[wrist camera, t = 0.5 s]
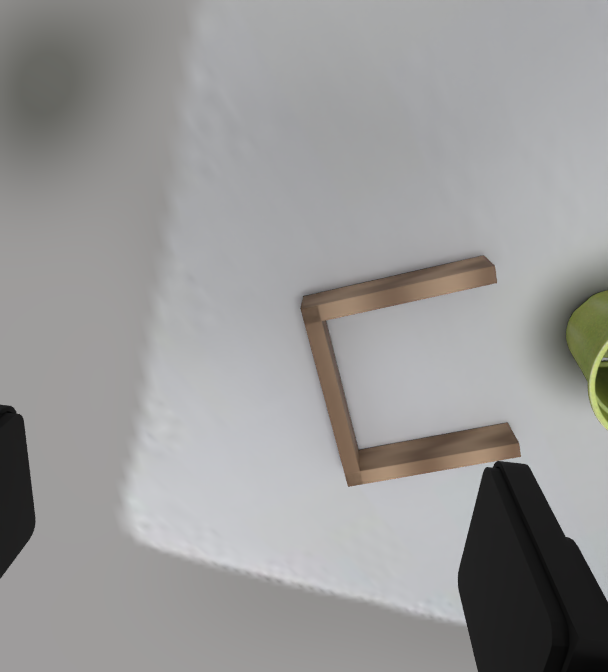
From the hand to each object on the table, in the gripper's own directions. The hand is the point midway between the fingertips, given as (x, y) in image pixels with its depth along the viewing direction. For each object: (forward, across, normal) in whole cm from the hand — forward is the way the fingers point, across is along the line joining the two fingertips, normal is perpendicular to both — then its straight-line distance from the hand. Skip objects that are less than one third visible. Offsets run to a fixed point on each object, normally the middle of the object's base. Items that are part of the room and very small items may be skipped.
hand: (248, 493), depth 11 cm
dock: (+30, -8, +10) cm, 33 cm away
